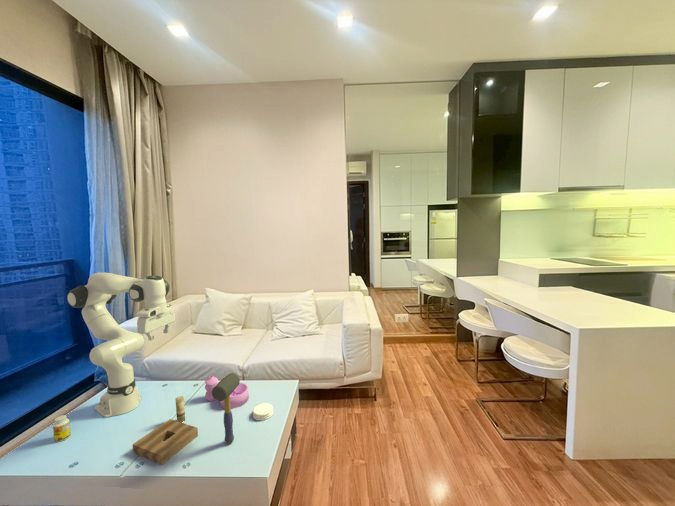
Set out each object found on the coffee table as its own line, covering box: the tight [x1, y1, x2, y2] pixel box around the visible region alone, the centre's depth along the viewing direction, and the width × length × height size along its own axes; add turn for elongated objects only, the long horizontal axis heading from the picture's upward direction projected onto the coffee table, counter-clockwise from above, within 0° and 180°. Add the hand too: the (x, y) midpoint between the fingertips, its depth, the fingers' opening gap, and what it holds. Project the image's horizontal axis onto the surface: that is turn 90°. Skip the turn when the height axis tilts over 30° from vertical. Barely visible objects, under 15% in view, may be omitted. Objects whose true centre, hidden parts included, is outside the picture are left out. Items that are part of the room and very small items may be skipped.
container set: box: [204, 374, 250, 410], centre depth 165 cm, size 25×15×13 cm, turn 79°
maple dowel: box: [174, 395, 186, 423], centre depth 147 cm, size 4×4×12 cm
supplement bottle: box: [52, 414, 72, 443], centre depth 137 cm, size 6×6×10 cm
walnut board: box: [132, 418, 199, 465], centre depth 132 cm, size 18×18×4 cm
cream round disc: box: [252, 402, 274, 422], centre depth 151 cm, size 10×10×4 cm
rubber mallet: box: [212, 372, 241, 445], centre depth 131 cm, size 12×8×30 cm, turn 170°
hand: (158, 336), depth 144 cm, fingers open, 8 cm apart
